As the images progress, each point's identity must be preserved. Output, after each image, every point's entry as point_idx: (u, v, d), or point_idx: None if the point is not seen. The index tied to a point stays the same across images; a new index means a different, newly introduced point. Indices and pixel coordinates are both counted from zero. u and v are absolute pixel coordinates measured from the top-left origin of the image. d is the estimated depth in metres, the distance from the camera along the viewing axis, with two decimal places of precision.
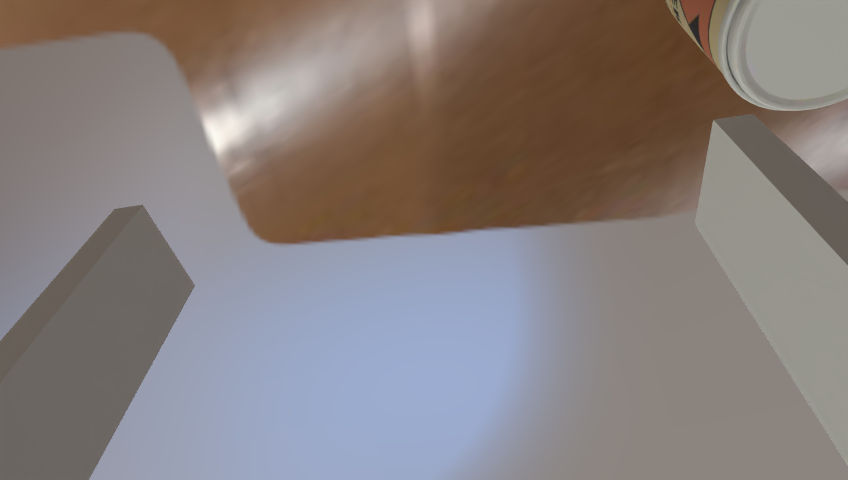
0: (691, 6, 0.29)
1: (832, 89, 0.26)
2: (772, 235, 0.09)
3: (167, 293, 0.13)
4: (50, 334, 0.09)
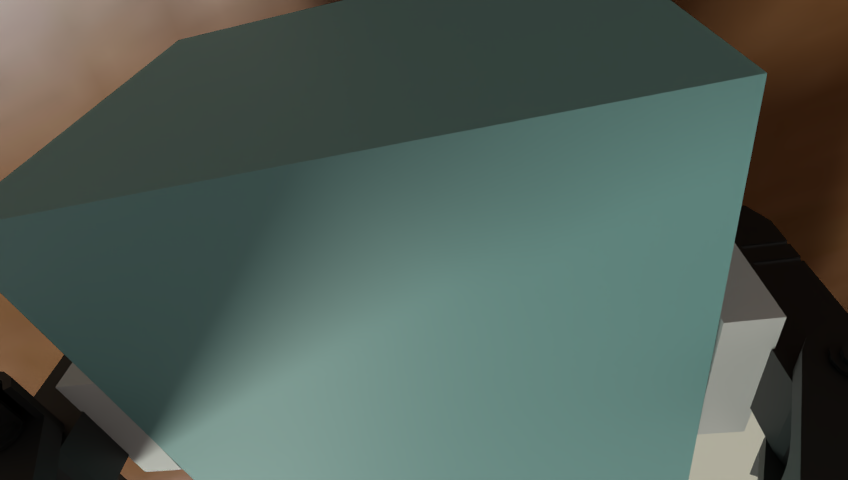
0: None
1: None
2: None
3: None
4: None
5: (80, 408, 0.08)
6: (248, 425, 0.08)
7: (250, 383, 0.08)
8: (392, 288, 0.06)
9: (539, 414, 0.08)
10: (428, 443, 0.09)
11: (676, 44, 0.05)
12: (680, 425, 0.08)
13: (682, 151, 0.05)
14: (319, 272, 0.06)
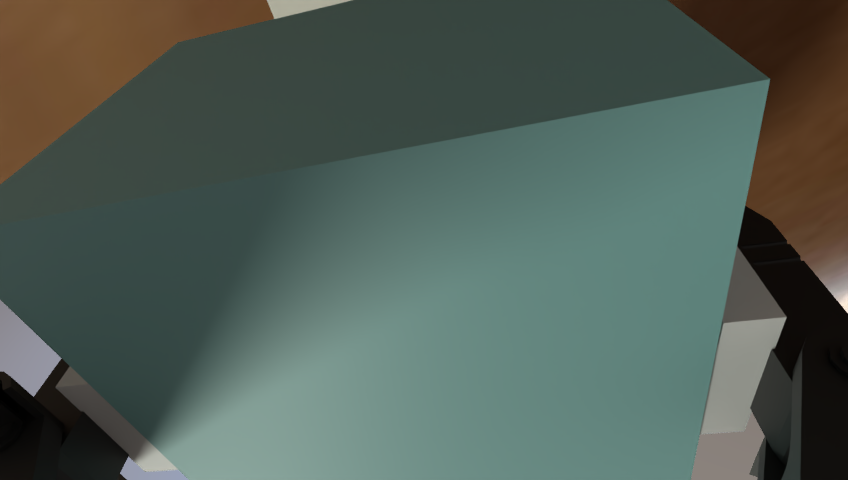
0: None
1: None
2: None
3: None
4: None
5: (80, 408, 0.08)
6: (248, 429, 0.08)
7: (250, 388, 0.08)
8: (392, 294, 0.06)
9: (540, 419, 0.08)
10: (429, 447, 0.09)
11: (678, 49, 0.05)
12: (681, 430, 0.08)
13: (684, 157, 0.05)
14: (319, 277, 0.06)
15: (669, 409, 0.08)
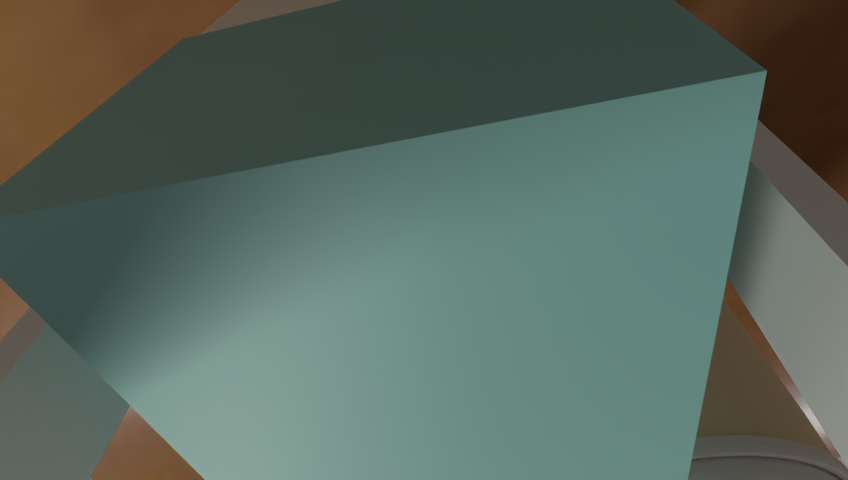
0: None
1: None
2: (771, 235, 0.09)
3: None
4: (51, 334, 0.09)
5: None
6: (255, 418, 0.09)
7: (257, 377, 0.08)
8: (397, 284, 0.06)
9: (542, 408, 0.08)
10: (432, 437, 0.09)
11: (677, 42, 0.06)
12: (681, 419, 0.08)
13: (683, 147, 0.05)
14: (326, 266, 0.06)
15: (668, 398, 0.08)
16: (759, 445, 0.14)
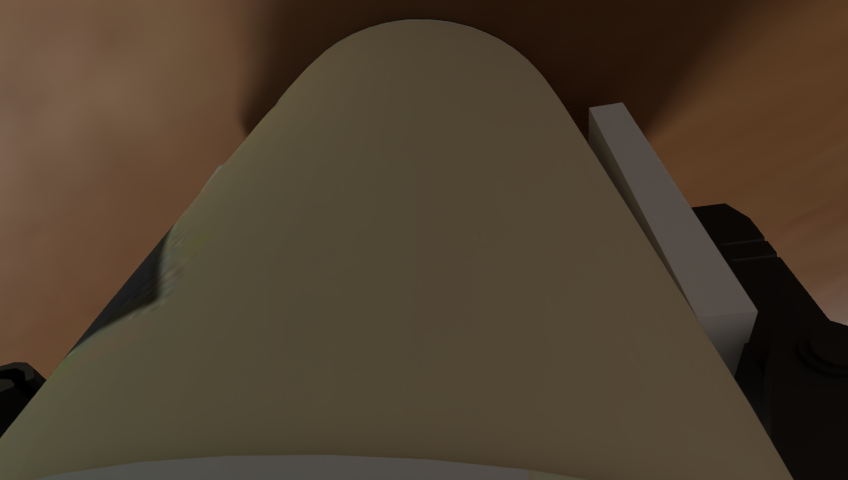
0: None
1: None
2: None
3: None
4: None
5: None
6: None
7: None
8: None
9: None
10: None
11: None
12: None
13: None
14: None
15: None
16: None
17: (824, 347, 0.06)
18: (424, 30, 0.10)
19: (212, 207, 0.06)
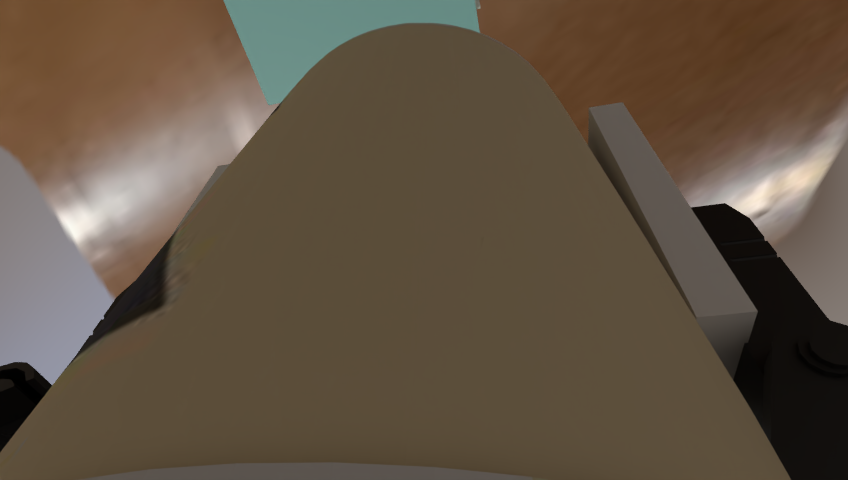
0: None
1: None
2: None
3: None
4: None
5: None
6: None
7: None
8: None
9: None
10: None
11: None
12: None
13: None
14: None
15: None
16: None
17: (824, 347, 0.06)
18: (425, 34, 0.10)
19: (216, 212, 0.06)
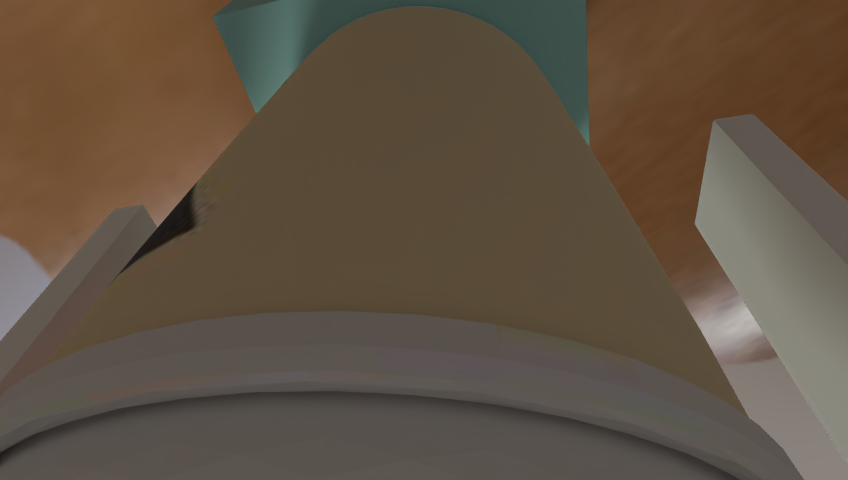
0: None
1: None
2: (772, 235, 0.09)
3: None
4: (50, 334, 0.09)
5: None
6: None
7: None
8: None
9: None
10: None
11: None
12: None
13: None
14: None
15: None
16: (387, 347, 0.03)
17: None
18: (422, 15, 0.11)
19: (234, 161, 0.07)
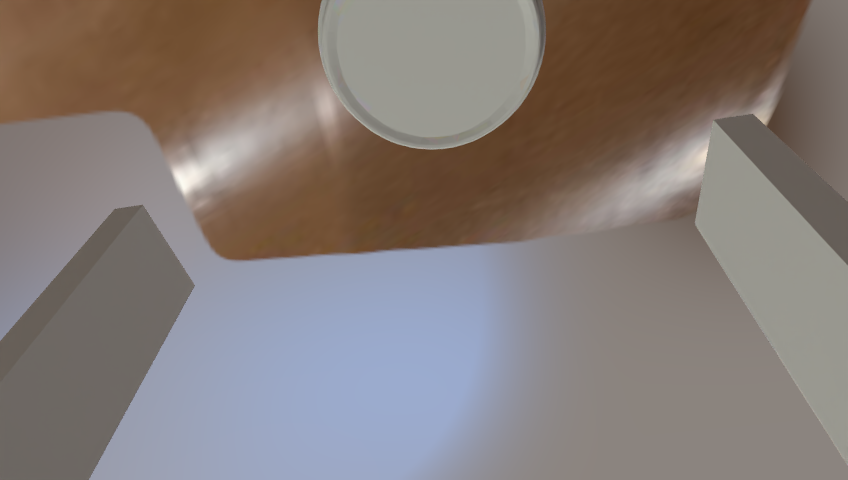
0: None
1: (463, 126, 0.23)
2: (772, 235, 0.09)
3: (167, 293, 0.13)
4: (50, 334, 0.09)
5: None
6: None
7: None
8: None
9: None
10: None
11: None
12: None
13: None
14: None
15: None
16: None
17: None
18: None
19: None
